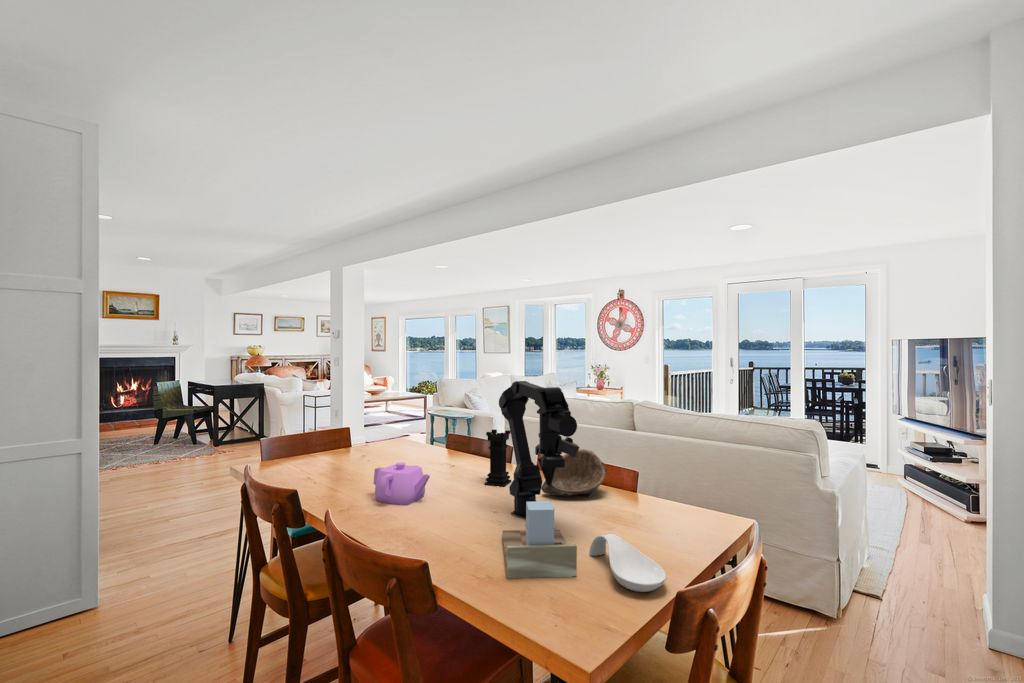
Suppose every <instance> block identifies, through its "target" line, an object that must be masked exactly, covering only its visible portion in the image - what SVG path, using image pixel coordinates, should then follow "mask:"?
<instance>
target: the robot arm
mask: <svg viewBox="0 0 1024 683" xmlns="http://www.w3.org/2000/svg"><path fill="white" fill-rule="evenodd" d="M529 399H531V400H533V401H534V404H535V405H536V406H537V407H538V408H539V409H537V410H536V413H537V414H538V415H539V432H538V438H539V441H538V442H539V443H538V444H537V445H536V446H535V447H534V450H535V451H534V453H535V455H536V456H539V454H540V458H537V460H538V464H535V463H534V462H533V460H532V457H531V452H530V447H529V442H528V438H527V433H526V432H527V431H526V427H525V423H524V415H525V413H526V410H527V408H526V406H527V404H528V402H529ZM498 406H499V408H500V412H501V414H502V416H503V418H505V419H506V421H508V426H509V431H510V437H511V441H512V446H513V452H514V458H515V462H516V464H515V470H514V472H513V473H512V474H513V480H512V481H511V482H510V486H509V487H508V488H509V489H508V490H509V495H511V496H512V497H513V498H514V499H513V500H514V504H513V505H514V506H513V509H514V510H512V511H511V512H510V514H511V515H514V516H516V517H520V518H523V519H526V502H535V501H537V500H536V499H537V498H536V496H538V495H541V491H542V490H541V488H542V485H543V478H544V479H545V480H546V483H547V485H548V486H551V484H552V480H553V476H554V472H555V469H556V468H562V467H565V459H564V458H563V457H562V456H563V455H562V454H563V453H564V454H565V455H566V454H569V455H571V456H572V457H576V456H577V453H578V450H580V449H581V448H580V446H579V445H578V444H576V443H574V439H572V436H573V435H574V434H575V433H576V432H577V429H578V423H577V420H576V419H575V417H574V416H572V412H571V410H570V408H569V407H570V406H569V404H568V402H567V399H566V397H565V394H564V392H563V391H562V389H561V388H560V387H559V386H555V387H553V386H552V387H543V386H540V385H537V384H534V383H532V382H531V383H530V382H529V381H527V380H520V381H517V380H516V381H513V382H512V383H511V386H510V387H509V386H508V388H506V389H505V390H504V391H503V392H502V393H501V395H500V397H499V399H498ZM562 436H563V437H565V438H562ZM540 469H541V470H540ZM541 472H542V474H541ZM542 475H543V477H542ZM545 480H544V481H545Z"/></svg>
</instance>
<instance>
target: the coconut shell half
mask: <svg viewBox="0 0 1024 683" xmlns="http://www.w3.org/2000/svg"><path fill="white" fill-rule="evenodd" d="M561 456H562V457H563V458H564V459H565V467H562V468H556V469H555V472H554V476H553V480H552V484H551V486H548V485H547V483H546V480H544V482H542V487H541V491H542V492H543V493H544V494H548V495H550V496H558V497H559V496H562V497H563V496H565V497H570V496H574V495H585V494H586V495H587V497H588V496H590V497H592V496H594V495H595V493H596V492H597V490H598V488H599V487H601V485H602V483H603V482H604V481H605V478H606V473H608V470H607V469H606V468H605V462H604V461H602V460H601V459H600V458H599V456H597V454H595V452H593V451H592V450H588V449H582V448H579V450H578V453H577V456H576V457H572V456H571V455H569V454H566V453H565V454H564V455H561Z"/></svg>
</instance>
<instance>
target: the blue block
mask: <svg viewBox="0 0 1024 683" xmlns="http://www.w3.org/2000/svg"><path fill="white" fill-rule="evenodd" d="M525 530H526V546H528V545H554V530H555V508H554V506H553V504H552V501H549V500H547V501H546V500H545V501H543V500H541V501H537V500H536V501H535V502H526V518H525Z"/></svg>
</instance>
